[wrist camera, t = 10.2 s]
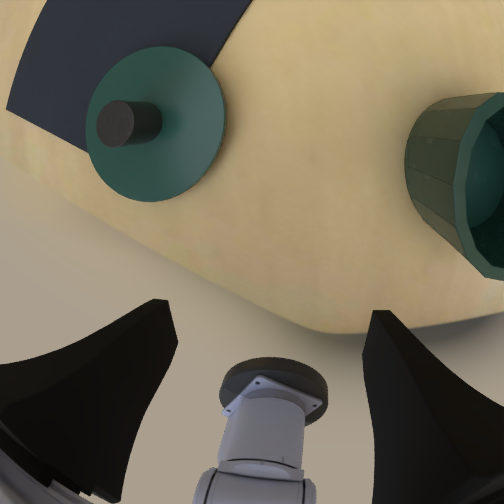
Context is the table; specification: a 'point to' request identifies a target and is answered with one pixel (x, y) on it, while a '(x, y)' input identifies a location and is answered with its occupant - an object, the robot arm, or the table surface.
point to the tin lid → (156, 123)
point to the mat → (105, 51)
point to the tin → (462, 176)
